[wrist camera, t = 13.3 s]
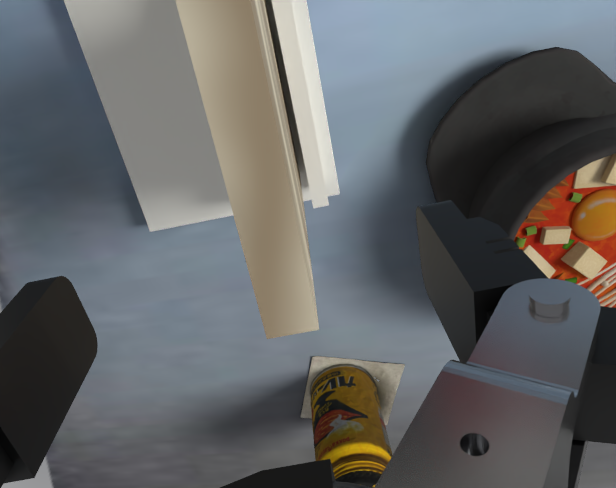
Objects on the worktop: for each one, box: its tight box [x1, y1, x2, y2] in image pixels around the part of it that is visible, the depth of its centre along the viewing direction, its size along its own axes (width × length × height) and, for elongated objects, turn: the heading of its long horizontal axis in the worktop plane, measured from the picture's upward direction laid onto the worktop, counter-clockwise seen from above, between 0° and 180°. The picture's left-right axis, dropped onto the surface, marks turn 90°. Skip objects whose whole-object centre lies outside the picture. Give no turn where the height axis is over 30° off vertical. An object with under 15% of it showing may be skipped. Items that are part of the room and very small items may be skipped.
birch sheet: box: [175, 0, 319, 339], centre depth 24 cm, size 2×12×18 cm, turn 10°
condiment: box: [300, 356, 405, 488], centre depth 41 cm, size 7×8×12 cm
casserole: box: [426, 47, 616, 308], centre depth 35 cm, size 25×19×8 cm
